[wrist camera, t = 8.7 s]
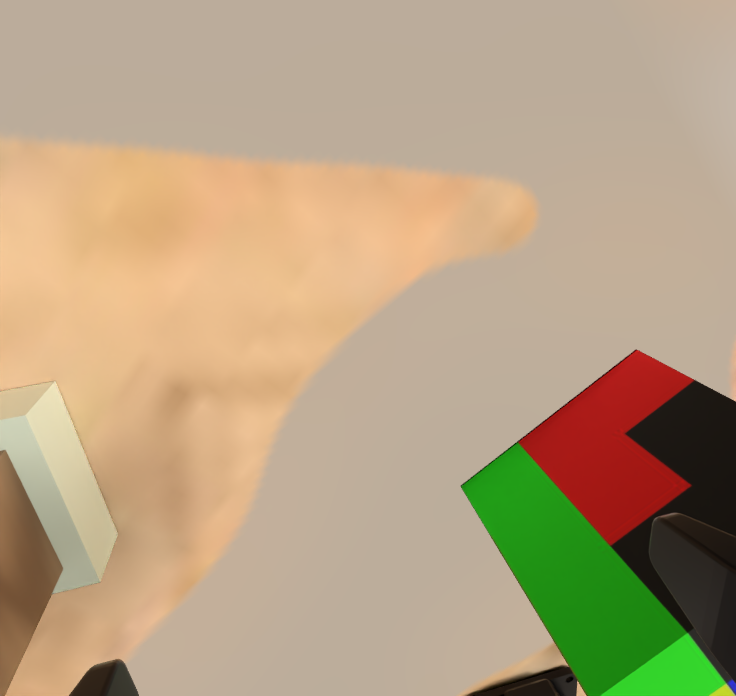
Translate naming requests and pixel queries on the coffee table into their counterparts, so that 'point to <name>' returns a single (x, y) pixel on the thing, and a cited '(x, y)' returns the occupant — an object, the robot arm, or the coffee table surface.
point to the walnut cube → (21, 571)
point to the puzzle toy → (615, 523)
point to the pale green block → (58, 481)
